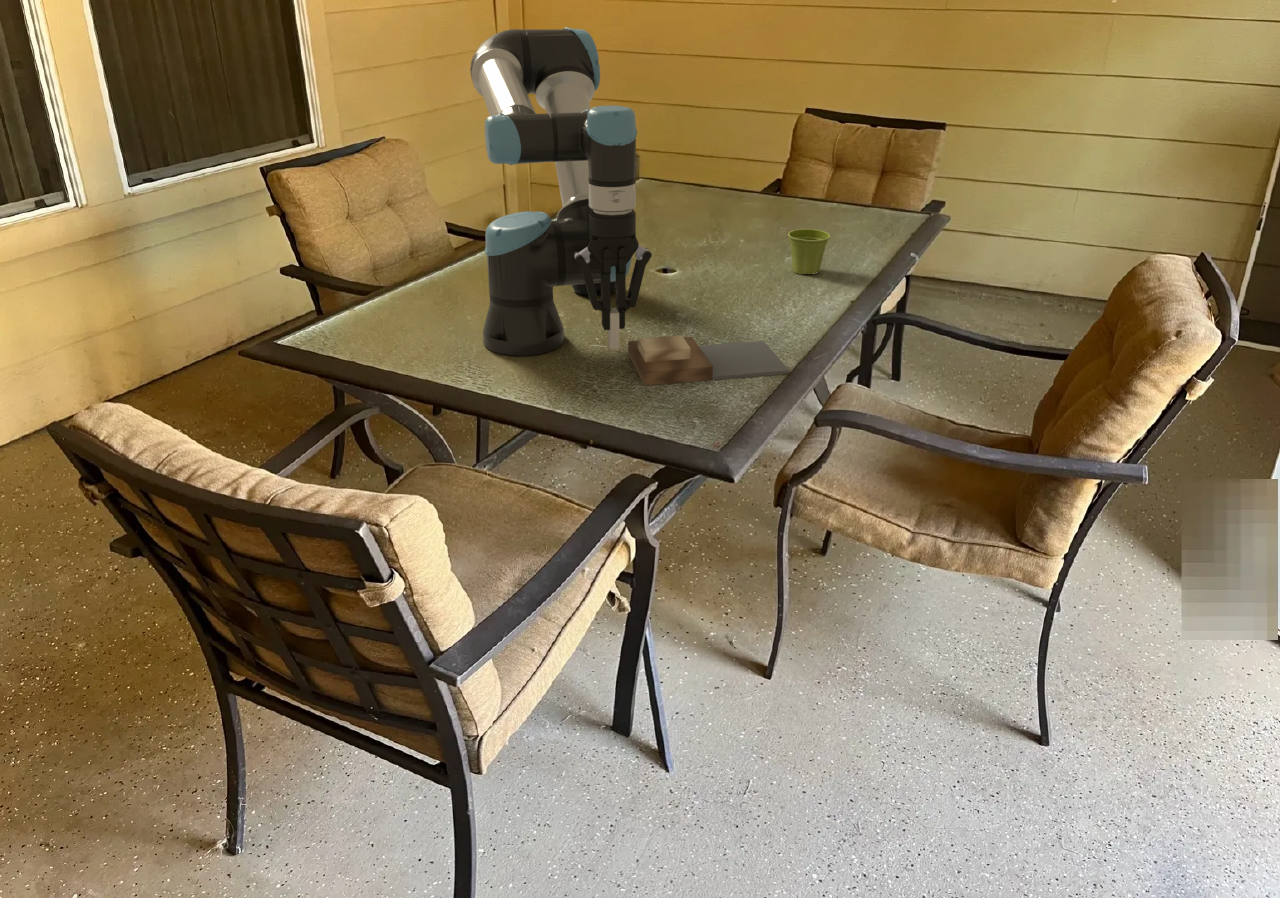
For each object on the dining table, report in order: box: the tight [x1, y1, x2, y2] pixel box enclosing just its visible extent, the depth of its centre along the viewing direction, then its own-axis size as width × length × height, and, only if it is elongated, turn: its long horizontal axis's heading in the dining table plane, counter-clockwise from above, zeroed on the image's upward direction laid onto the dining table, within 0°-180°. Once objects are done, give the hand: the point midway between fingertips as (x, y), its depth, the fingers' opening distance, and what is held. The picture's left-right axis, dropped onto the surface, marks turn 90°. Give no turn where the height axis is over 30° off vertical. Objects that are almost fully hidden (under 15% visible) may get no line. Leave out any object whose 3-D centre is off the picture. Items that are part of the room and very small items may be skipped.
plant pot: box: [787, 228, 831, 275], centre depth 208 cm, size 9×9×9 cm
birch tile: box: [637, 335, 690, 362], centre depth 160 cm, size 8×6×2 cm
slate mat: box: [698, 340, 790, 381], centre depth 164 cm, size 14×14×1 cm
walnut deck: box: [627, 336, 713, 386], centre depth 161 cm, size 12×14×2 cm
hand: (613, 346), depth 157 cm, fingers closed
